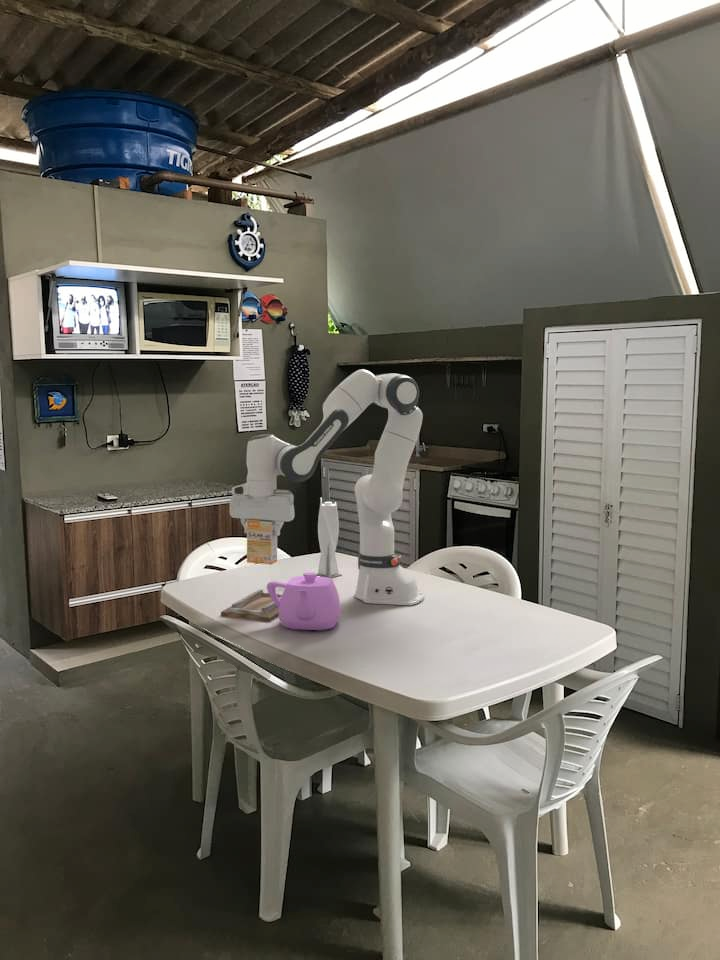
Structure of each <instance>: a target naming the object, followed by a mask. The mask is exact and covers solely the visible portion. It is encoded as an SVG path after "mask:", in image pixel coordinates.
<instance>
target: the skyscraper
mask: <svg viewBox="0 0 720 960" xmlns="http://www.w3.org/2000/svg"><path fill="white" fill-rule="evenodd" d="M319 499H320V503H319V510H318V521H317V535H318V536H317V537H318V542H319V545H318V546H319V549H320V557H319V564H318V570H317V573H316V574H317V575H316V577H317V576H320V577H327V578H331V579H335V578H338V576H339V577H342V576H343V575H342V574H341V573H339V568H338V562H337V561H338V560H337V557H336V556H337V555H336V549H337V546H338V545H337V544H338V541H339V540H338V539H339V532H340V521H339V513H338V504H337V502H336V501H334V503H333V502H332V501H324V503H323V498H322V497H320V498H319ZM334 577H335V578H334Z"/></svg>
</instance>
